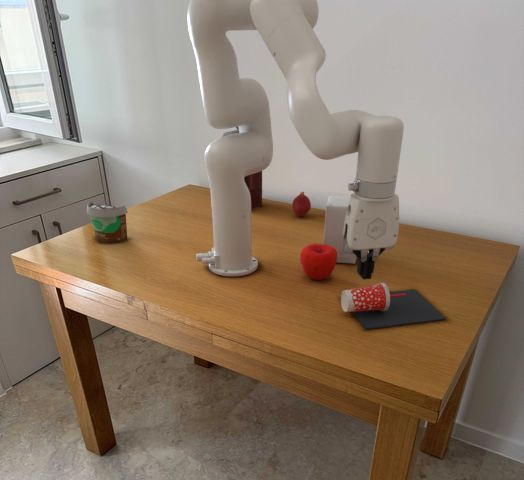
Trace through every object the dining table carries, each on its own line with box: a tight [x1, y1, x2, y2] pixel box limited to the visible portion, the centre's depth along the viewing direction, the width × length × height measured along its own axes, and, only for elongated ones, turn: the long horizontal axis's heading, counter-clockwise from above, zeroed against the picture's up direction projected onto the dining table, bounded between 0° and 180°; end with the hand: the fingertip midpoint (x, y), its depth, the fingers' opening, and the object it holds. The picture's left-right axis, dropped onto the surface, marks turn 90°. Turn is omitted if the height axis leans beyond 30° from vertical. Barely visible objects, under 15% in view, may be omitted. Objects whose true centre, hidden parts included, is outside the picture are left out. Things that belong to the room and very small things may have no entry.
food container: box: [86, 200, 128, 244], centre depth 144 cm, size 12×6×10 cm, turn 68°
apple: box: [299, 243, 337, 281], centre depth 124 cm, size 9×9×8 cm
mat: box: [352, 289, 446, 331], centre depth 113 cm, size 18×14×1 cm
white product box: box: [322, 195, 358, 265], centre depth 133 cm, size 9×9×15 cm
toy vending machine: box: [222, 127, 263, 211], centre depth 165 cm, size 9×11×28 cm
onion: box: [292, 190, 312, 218], centre depth 162 cm, size 6×6×8 cm
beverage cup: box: [340, 282, 406, 313], centre depth 110 cm, size 6×6×14 cm
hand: (364, 276), depth 107 cm, fingers closed
